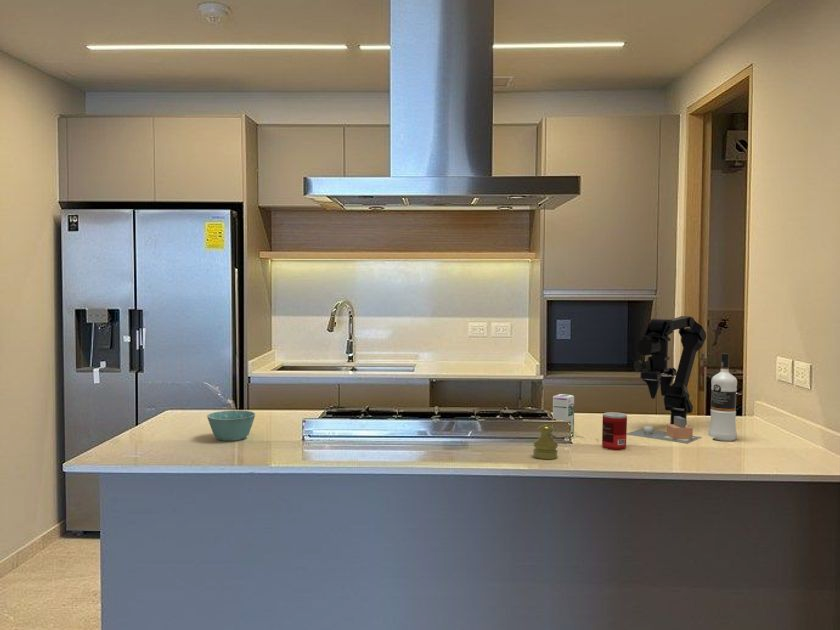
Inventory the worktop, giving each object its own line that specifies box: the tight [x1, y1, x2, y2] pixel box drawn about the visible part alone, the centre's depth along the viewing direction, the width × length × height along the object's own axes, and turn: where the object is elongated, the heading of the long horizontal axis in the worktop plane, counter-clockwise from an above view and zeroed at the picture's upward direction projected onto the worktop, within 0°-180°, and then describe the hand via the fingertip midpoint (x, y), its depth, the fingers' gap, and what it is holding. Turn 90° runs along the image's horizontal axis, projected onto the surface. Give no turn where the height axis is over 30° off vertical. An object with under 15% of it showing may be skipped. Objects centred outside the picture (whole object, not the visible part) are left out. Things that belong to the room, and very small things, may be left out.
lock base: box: [627, 425, 703, 445], centre depth 258 cm, size 14×22×4 cm, turn 50°
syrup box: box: [552, 393, 575, 437], centre depth 260 cm, size 6×6×14 cm
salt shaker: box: [532, 424, 559, 460], centre depth 229 cm, size 7×8×10 cm
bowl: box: [206, 409, 256, 442], centre depth 249 cm, size 16×16×8 cm
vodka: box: [707, 352, 738, 442], centre depth 258 cm, size 9×9×30 cm
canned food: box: [601, 411, 628, 451], centre depth 243 cm, size 8×8×11 cm
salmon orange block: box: [665, 416, 694, 439], centre depth 255 cm, size 6×6×7 cm
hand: (658, 397), depth 267 cm, fingers open, 9 cm apart
